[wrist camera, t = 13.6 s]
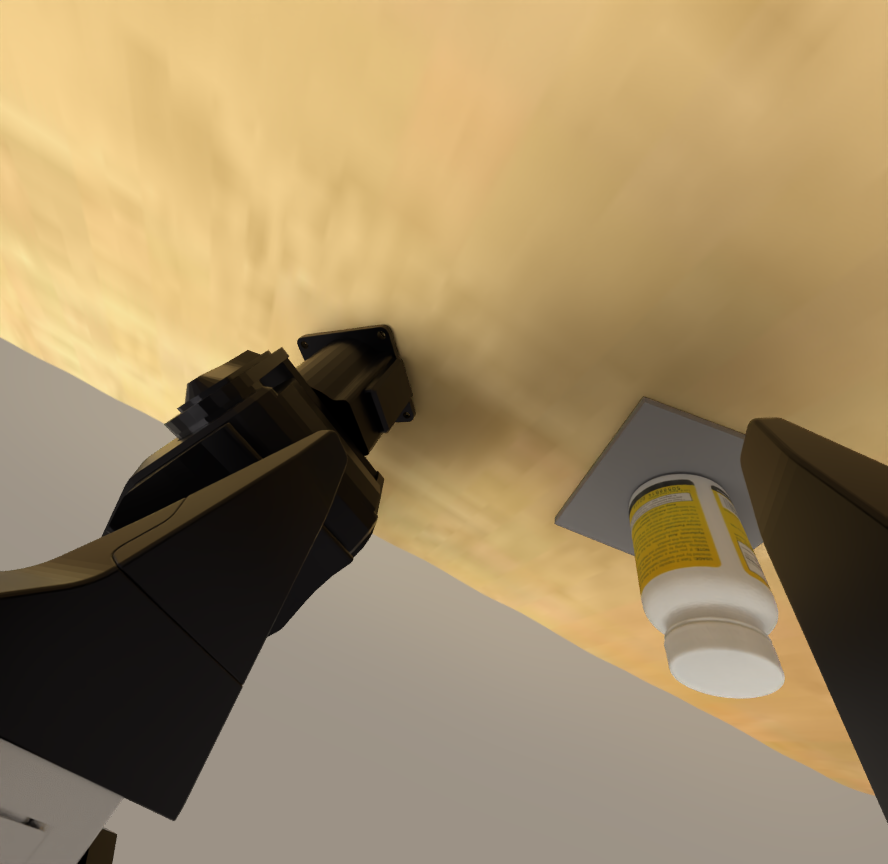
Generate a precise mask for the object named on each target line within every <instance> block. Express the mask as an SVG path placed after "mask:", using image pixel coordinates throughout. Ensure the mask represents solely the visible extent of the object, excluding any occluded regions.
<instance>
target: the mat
mask: <svg viewBox="0 0 888 864" xmlns="http://www.w3.org/2000/svg"><path fill="white" fill-rule="evenodd" d="M744 439H745V435H744V434H742V433H739V432H736V431H734V430H731V429H728V428H726V427H723V426H720V425H718V424H715V423H712V422H710V421H707V420H704V419H702V418H699V417H697V416H694V415H691V414H689V413H686V412H683V411H681V410H678V409H675V408H673V407H670V406H667V405H665V404H662V403H659V402H657V401H654V400H651V399H649V398H646V397H643V398H642V399H641V401H640V402H639V403H638V405H637V406H636V408H635V409H634V410H633V412H632V413H631V414H630V416H629V417H628V418H627V420H626V421H625V423H624V424H623V425H622V427H621V428H620V429H619V431H618V432H617V434H616V435H615V436H614V438H613V439H612V440H611V442H610V443H609V444H608V446H607V447H606V449H605V450H604V451H603V453H602V454H601V455H600V457H599V458H598V460H597V461H596V462H595V464H594V465H593V466H592V468H591V469H590V470H589V472H588V473H587V475H586V476H585V477H584V479H583V480H582V481H581V483H580V484H579V485H578V487H577V488H576V490H575V491H574V492H573V494H572V495H571V496H570V498H569V499H568V501H567V502H566V503H565V505H564V506H563V507H562V509H561V510H560V511H559V513H558V514H557V516H556V517H555V524H556V525H558V526H561V527H563V528H566V529H568V530H571V531H573V532H576V533H578V534H581V535H583V536H586V537H588V538H591V539H593V540H596V541H598V542H601V543H603V544H606V545H608V546H611V547H613V548H616V549H618V550H621V551H623V552H626V553H628V554H631V555H633V556H635V554H634V547H633V540H632V534H631V527H630V520H629V502H630V499H631V497H632V495H633V494H634V492H635V491H636V490H637V489H638V488H639V487H640V486H641V485H643V484H644V483H646V482H648V481H650V480H652V479H654V478H657V477H660V476H665V475H671V474H691V475H697V476H701V477H704V478H707V479H709V480H711V481H713V482H715V483H717V484H718V485H719V486H721V487H722V488H723V489H724V490H725V492H726V493H727V494H728V496H729V498H730V499H731V501H732V504H733V506H734V508H735V510H736V512H737V515H738V517H739V519H740V521H741V524H742V526H743V528H744V530H745V533H746V535H747V537H748V540H749V542H750V544H751V546H752V549H755V548H756V547H757V546H759V545H760V544H762V543H763V540H762V537H761V534H760V531H759V528H758V525H757V521H756V518H755V514H754V511H753V507H752V504H751V500H750V497H749V493H748V490H747V486H746V483H745V479H744V476H743V472H742V469H741V464H740V455H741V451H742V447H743V443H744Z"/></svg>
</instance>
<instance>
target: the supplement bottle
mask: <svg viewBox="0 0 888 864" xmlns="http://www.w3.org/2000/svg"><path fill="white" fill-rule="evenodd" d="M629 520H630V527H631V534H632V540H633V547H634V554H635V561H636V567H637V574H638V580H639V587H640V594H641V600H642V604H643V608H644V612H645V614H646V616H647V618H648V619H649V621H650V622H651V623H652V624H653V626H654V627H655V628H657V629H658V630H659V631H660V632H661V633H663V634H664V635H665V637H664V639H665V641H664V646H665V650H666V654H667V659H668V664H669V669H670V671H671V673H672V675H673V676H674V677H675V678H676V679H677V680H678V681H679V682H680V683H682V684H684V685H685V686H687V687H689V688H691V689H694V690H696V691H699V692H702V693H705V694H709V695H713V696H719V697H726V698H754V697H760V696H765V695H768V694H771V693H773V692H775V691H777V690H778V689H779V688H781V686H782V685H783V683H784V680H785V677H784V672H783V669H782V667H781V664H780V661H779V659H778V656H777V653H776V651H775V648H774V647H773V645H772V641H771V639H770V638H769V637H768V635H769V634H770V633H771V631H772V630H773V629H774V628H775V626H776V624H777V620H778V608H777V604H776V602H775V599H774V596H773V594H772V592H771V590H770V587H769V585H768V583H767V580H766V578H765V576H764V574H763V571H762V569H761V567H760V564H759V562H758V560H757V558H756V556H755V553H754V551H753V549H752V546H751V544H750V542H749V540H748V537H747V535H746V533H745V530H744V528H743V526H742V524H741V521H740V519H739V517H738V515H737V512H736V510H735V508H734V506H733V504H732V501H731V499H730V498H729V496H728V494H727V493H726V492H725V490H724V489H723V488H722V487H721V486H719V485H718V484H717V483H715V482H713V481H711V480H709V479H707V478H704V477H701V476H697V475H691V474H671V475H665V476H660V477H657V478H654V479H652V480H650V481H648V482H646V483H644V484H643V485H641V486H640V487H639V488H638V489H637V490H636V491H635V492H634V494H633V495H632V497H631V499H630V502H629Z"/></svg>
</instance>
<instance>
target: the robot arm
mask: <svg viewBox="0 0 888 864" xmlns="http://www.w3.org/2000/svg"><path fill="white" fill-rule="evenodd" d="M380 331H382V332H384V333H385V337H383V336H381V334H380ZM304 341H305V342H306V343H307V344H308V346H307V345H306V344H305V342H304ZM297 344H298V347H299V349H300V351H301V354H302V356H303V358H304V360H305V361H304V362H303V363H302V364H301V365H299V366H298V367H297V368H295V367H294V365H293V364H292V363H291V361H290V360H289V359H288V357H289V355H288V354H287V353H286V351H285V350H284V349H283V348H282V347H281V348H280V349H278V350H277V351H275V352H273V353H272V354H271V352H270V351H269V350H268V351H266V352H265V353H263V354H261V355H260V354H257V353H255V352H252V351H249V350H247V351H245V352H244V353H242V354H240V355H239V356H237V357H235V358H234V359H232V360H230V361H229V362H227V363H225V364H223V365H221V366H219V367H217V368H215V369H213V370H211V371H209V372H207V373H205V374H203V375H201V376H199V377H197V378H196V379H194V380H193V381H191V382H190V383H188V384H187V389H186V398H185V404H183V405H182V406H180V407H179V408H177V409H178V410H179V411H180V412H181V413H180V414H178V415H177V416H175V417H174V418H173V419H171V420H170V421H168V422H167V423H165V424H164V425H165V426H166V427H167V428H168V429H169V430H170V431H171V432H172V433H173V434H174V435H175V436H176V437H177V438H176V439H174V440H173V441H171V442H170V443H168V444H167V445H165V446H164V447H162V448H161V449H159V450H158V451H157V452H155V453H154V454H152V455H151V456H149V457H148V458H147V459H146V460H145V461H144V462H143V463H142V464H141V465H140V467H139V468H138V469H137V470H136V471H135V473H134V474H133V475H132V477H131V478H130V479H129V481H128V482H127V484H126V485H125V487H124V489H123V492H122V494H121V496H120V498H119V500H118V502H117V504H116V507H115V509H114V511H113V513H112V515H111V517H110V520H109V522H108V524H107V526H106V528H105V530H104V533H103V535H102V537H101V538H99V539H97V540H95V541H93V542H90V543H88V544H86V545H84V546H81V547H79V548H77V549H75V550H73V551H70V552H68V553H66V554H64V555H62V556H59V557H57V558H55V559H52V560H50V561H47V562H44V563H41V564H38V565H35V566H31V567H27V568H23V569H17V570H11V571H0V864H112V861H113V856H114V850H115V844H116V838H117V834H116V833H114V832H112V831H110V830H108V829H106V828H104V825H105V824H106V822H107V821H108V819H109V818H110V816H111V815H112V814H113V812H114V811H115V810H116V808H117V807H118V805H119V804H120V802H121V801H122V800H123V798H126V799H128V800H130V801H132V802H134V803H136V804H139V805H141V806H143V807H145V808H147V809H149V810H151V811H153V812H155V813H157V814H160V815H162V816H164V817H166V818H168V819H170V820H172V821H175V820H176V818H177V817H178V815H179V814H180V812H181V810H182V808H183V807H184V805H185V803H186V801H187V799H188V797H189V795H190V793H191V791H192V789H193V787H194V785H195V783H196V780H197V778H198V776H199V774H200V772H201V770H202V768H203V766H204V764H205V762H206V760H207V758H208V756H209V754H210V752H211V750H212V748H213V746H214V744H215V742H216V740H217V737H218V736H219V734H220V732H221V730H222V728H223V726H224V724H225V722H226V720H227V718H228V716H229V713H230V712H231V710H232V707H233V706H234V703H235V701H236V699H237V697H238V695H239V693H240V691H241V689H242V685H243V684H244V683H245V680H246V679H247V676H248V674H249V672H250V670H251V668H252V666H253V664H254V662H255V660H256V658H257V656H258V654H259V652H260V650H261V648H262V646H263V644H264V642H265V640H266V638H267V637H268V636H270V635H272V634H274V633H276V632H277V631H279V630H281V629H282V628H283V627H284V626H285V625H286V623H287V622H288V621H289V620H290V619H291V618H292V616H293V615H294V614H295V613H296V612H297V611H298V609H299V608H300V607H301V606H302V605H303V604H304V602H305V601H306V600H307V599H308V598H309V597H310V596H311V595H312V594H313V593H314V592H315V591H316V590H317V589H318V588H319V587H320V586H321V585H323V584H324V583H325V582H326V581H327V580H328V579H329V578H330V577H331V576H333V575H334V574H336V573H337V572H339V571H340V570H341V569H343V568H344V567H346V566H347V565H349V564H350V563H351V562H352V561H353V558H354V556H356V555H357V553H358V552H359V551H360V550H361V549H362V548H363V547H364V546H365V544H366V543H367V541H368V540H369V538H370V537H371V535H372V533H373V530H374V527H375V524H376V522H377V518H378V515H377V513H378V508H379V503H380V498H381V493H382V488H383V483H384V478H383V477H382V475H381V474H380V473H379V472H378V471H377V472H376V471H375V469H374V468H373V467H372V465H371V464H370V463H369V462H368V460H367V459H366V458H365V456H366V455H368V454H369V452H370V451H371V450H372V448H373V447H374V445H375V444H376V442H377V441H378V439H379V438H380V437H381V435H382V434H383V433H388V432H389V430H390V429H391V427H392V426H393V424H394V423H395V422H410V421H412V420H413V419H414V417H415V415H416V412H415V409H414V405H413V402H412V396H413V394H412V391H411V387H410V384H409V380H408V377H407V374H406V370H405V367H404V363H403V361H402V360H401V359H400V358H399V355H398V352H397V348H396V345H395V342H394V338H393V335H392V332H391V330H390V328H389V327H388V326H386V325H375V326H368V327H361V328H353V329H346V330H339V331H331V332H324V333H317V334H309V335H304V336H302V337H300V338H299V339H298V341H297ZM405 412H408V413H409V414H410V415H407V414H406V413H405ZM740 464H741V469H742V472H743V476H744V479H745V483H746V486H747V490H748V493H749V497H750V500H751V504H752V507H753V511H754V514H755V518H756V521H757V525H758V528H759V531H760V534H761V537H762V540H763V542H764V545H765V547H766V550H767V552H768V554H769V556H770V559H771V561H772V563H773V566H774V568H775V570H776V572H777V575H778V577H779V579H780V581H781V584H782V586H783V588H784V590H785V593H786V595H787V597H788V599H789V602H790V604H791V606H792V608H793V611H794V613H795V615H796V617H797V620H798V622H799V624H800V626H801V629H802V631H803V633H804V635H805V638H806V640H807V642H808V644H809V647H810V649H811V651H812V653H813V656H814V658H815V660H816V663H817V665H818V667H819V669H820V672H821V674H822V676H823V678H824V681H825V683H826V685H827V687H828V690H829V692H830V694H831V696H832V699H833V701H834V703H835V705H836V708H837V710H838V712H839V714H840V717H841V719H842V721H843V723H844V726H845V728H846V730H847V732H848V735H849V737H850V739H851V741H852V744H853V746H854V748H855V750H856V753H857V755H858V757H859V760H860V762H861V764H862V766H863V769H864V771H865V773H866V775H867V778H868V780H869V782H870V784H871V787H872V789H873V791H874V793H875V796H876V798H877V800H878V802H879V805H880V807H881V809H882V811H883V813H884V816H885V818H886V820H887V823H888V466H887V465H884V464H882V463H880V462H878V461H876V460H873V459H871V458H869V457H867V456H864V455H862V454H860V453H858V452H855V451H853V450H851V449H849V448H847V447H844V446H842V445H840V444H838V443H835V442H833V441H831V440H829V439H827V438H824V437H822V436H820V435H818V434H815V433H813V432H811V431H809V430H807V429H804V428H802V427H800V426H798V425H795V424H793V423H791V422H789V421H786V420H784V419H782V418H755V419H753V420H751V421H750V423H749V424H748V427H747V431H746V435H745V439H744V443H743V447H742V451H741V455H740Z"/></svg>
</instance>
